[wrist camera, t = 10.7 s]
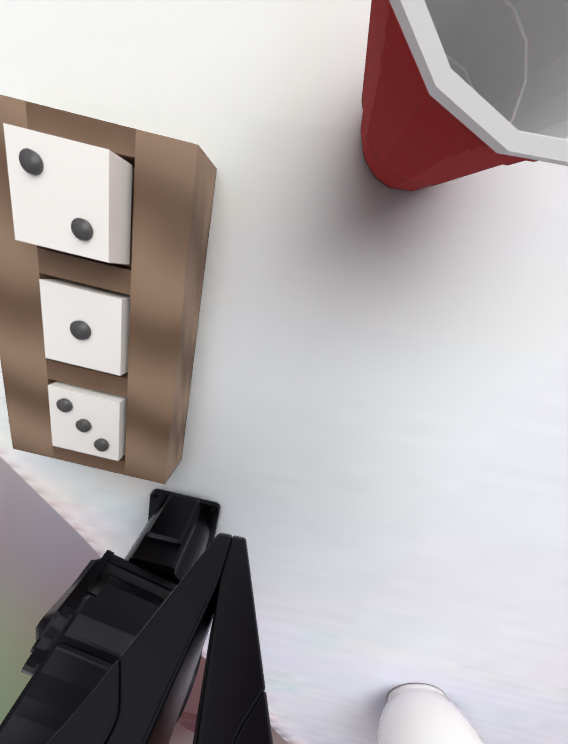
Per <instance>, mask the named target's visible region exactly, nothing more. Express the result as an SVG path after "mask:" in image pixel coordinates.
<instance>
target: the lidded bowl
mask: <svg viewBox="0 0 568 744" xmlns="http://www.w3.org/2000/svg"><path fill="white" fill-rule="evenodd" d="M377 744H484V742H483V740H482V739H481V737H480V735H479V734H478V732H477V731H476V729H475V728H474V726H473V725H472V724H471V722H470V721H469V720H468V719H467V717H466V716H465V715H464V714H463V713H462V711H461V710H460V709H459V708H458V707H457V706H455V705H454V704H453V703H452V702H451V701H450V700H448V699H447V698H446V695H445V694H444V692H443V691H441V690H440V689H439V688H437V687H434V686H431V685H428V684H421V683H411V684H405V685H401V686H398V687H396V688H394V689H393V690H391V691H390V692H389V694H388V696H387V704H386V705H385V707H384V709H383V712H382V715H381V718H380V721H379V726H378V735H377Z"/></svg>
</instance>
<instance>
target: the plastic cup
mask: <svg viewBox="0 0 568 744" xmlns="http://www.w3.org/2000/svg"><path fill="white" fill-rule="evenodd" d="M362 108H363V114H362V124H361V137H362V145H363V152H364V157H365V160H366V162H367V164H368V166H369V168H370V169H371V171H372V173H373V175H374V176H375V178H377V179H378V180H380V181H381V182H382V183H384V184H385V185H387V186H388V187H389V188H394V189H401V190H408V191H414V190H418V189H421V188H424V187H428V186H431V185H432V186H433V185H437V184H440V183H443V182H447V181H450V180H453V179H457V178H460V177H463V176H467V175H470V174H473V173H476V172H479V171H483V170H486V169H489V168H492V167H496V166H499V165H502V164H503V165H511V164H514V163H518V162H522V161H525V160H526V161H532V162H535V161H543V162H549V163H554V164H560V165H565V166H568V0H372V3H371V13H370V23H369V33H368V43H367V53H366V63H365V73H364V83H363V93H362Z"/></svg>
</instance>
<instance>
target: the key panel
mask: <svg viewBox="0 0 568 744" xmlns="http://www.w3.org/2000/svg"><path fill="white" fill-rule="evenodd" d="M3 123H6V124H10V125H14V126H18V127H22V128H26V129H29V130H33V131H37V132H41V133H45V134H49V135H53V136H57V137H61V138H65V139H69V140H73V141H77V142H81V143H85V144H89V145H93V146H97V147H101V148H105V149H109V150H110V151H112V152H113V153H115V154H116V155H118V156H119V157H121V158H122V159H124V160H125V161H127V162H128V163H130V164H131V165H133V166H132V199H131V233H130V265H129V264H117V263H108V262H104V261H100V260H96V259H91V258H87V257H83V256H79V255H75V254H71V253H67V252H63V251H59V250H55V249H51V248H47V247H43V246H39V245H35V244H30V243H26V242H22V241H18V240H15V232H14V223H13V213H12V204H11V194H10V184H9V175H8V165H7V156H6V146H5V136H4V127H3ZM216 170H217V169H216V167H215V166H214V165H213V163H212V162H211V161H210V160H209V158H208V157H207V156H206V154H205V153H204V152H203V150H202V149H201V148H200V147H199V145H196V144H193V143H189V142H185V141H181V140H177V139H173V138H169V137H165V136H161V135H157V134H153V133H149V132H145V131H141V130H137V129H133V128H129V127H125V126H121V125H118V124H114V123H110V122H106V121H102V120H98V119H94V118H90V117H86V116H82V115H78V114H74V113H70V112H66V111H62V110H58V109H54V108H50V107H46V106H43V105H39V104H35V103H31V102H27V101H23V100H19V99H15V98H11V97H7V96H3V95H0V359H1V366H2V374H3V381H4V388H5V395H6V402H7V409H8V416H9V423H10V430H11V437H12V444H13V449H17V450H22V451H26V452H30V453H34V454H39V455H43V456H47V457H51V458H56V459H60V460H64V461H68V462H73V463H77V464H81V465H85V466H90V467H94V468H98V469H102V470H107V471H111V472H115V473H120V474H124V475H128V476H132V477H137V478H141V479H145V480H149V481H154V482H158V483H162V484H165V483H166V482H167V480H168V479H169V477H170V476H171V474H172V473H173V471H174V470H175V468H176V467H177V465H178V464H179V462H180V461H181V459H182V451H183V443H184V435H185V426H186V418H187V410H188V401H189V393H190V385H191V377H192V368H193V360H194V352H195V343H196V335H197V327H198V319H199V310H200V302H201V294H202V286H203V277H204V269H205V261H206V252H207V244H208V236H209V228H210V219H211V211H212V203H213V194H214V186H215V178H216ZM39 279H66V280H70V281H74V282H78V283H82V284H87V285H91V286H95V287H99V288H103V289H107V290H111V291H115V292H119V293H123V294H127V295H130V325H129V356H128V372H126V373H125V374H123V375H121V376H119V375H115V374H111V373H107V372H102V371H98V370H94V369H90V368H86V367H82V366H77V365H73V364H69V363H65V362H61V361H57V360H52V359H48V358H45V346H44V333H43V320H42V308H41V295H40V283H39ZM57 381H60V382H64V383H69V384H73V385H77V386H81V387H85V388H89V389H94V390H98V391H102V392H106V393H110V394H115V395H119V396H123V397H127V417H126V448H125V455H124V456H123V457H122V458H121V459H120V460H119V461H116V460H112V459H107V458H103V457H99V456H95V455H90V454H86V453H82V452H78V451H73V450H69V449H65V448H61V447H56V446H53V445H52V433H51V420H50V408H49V395H48V385H49V384H52V383H54V382H57Z"/></svg>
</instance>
